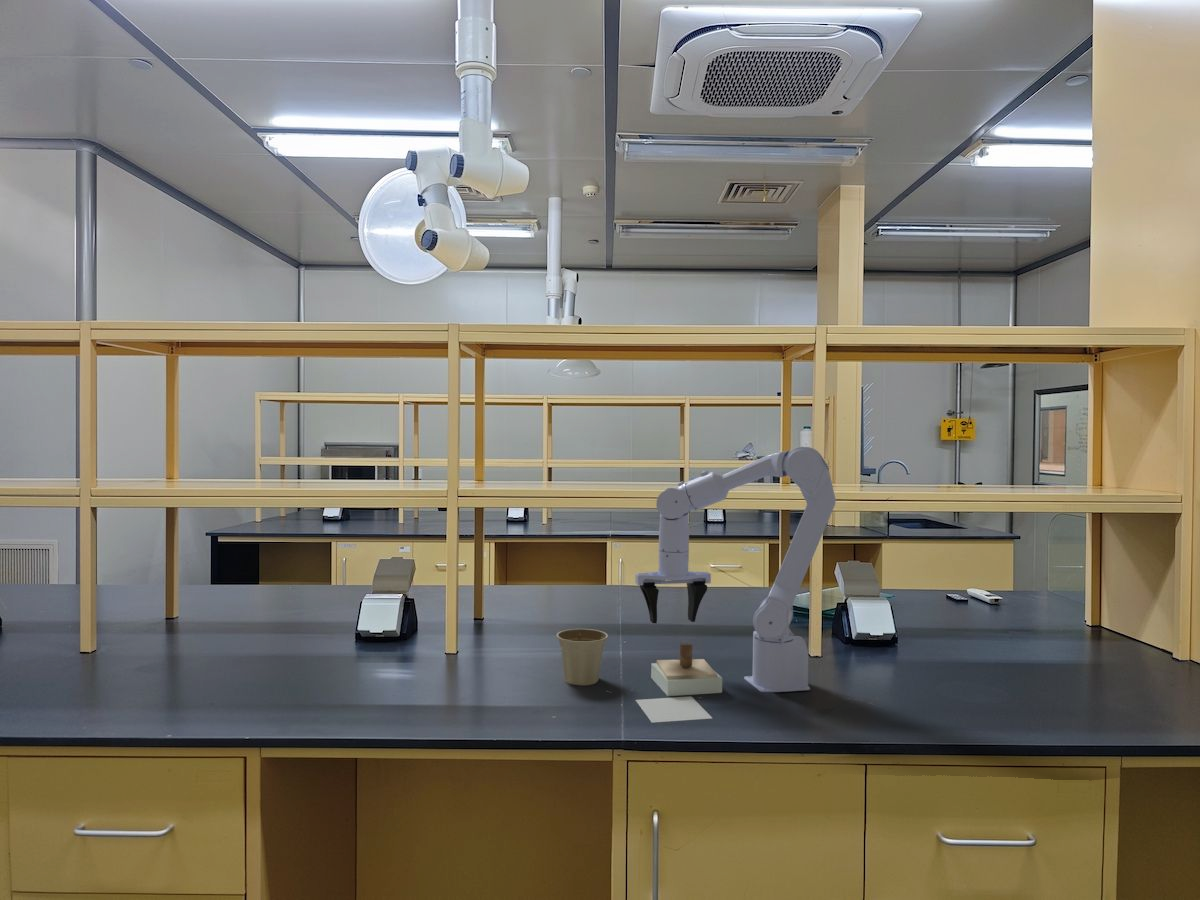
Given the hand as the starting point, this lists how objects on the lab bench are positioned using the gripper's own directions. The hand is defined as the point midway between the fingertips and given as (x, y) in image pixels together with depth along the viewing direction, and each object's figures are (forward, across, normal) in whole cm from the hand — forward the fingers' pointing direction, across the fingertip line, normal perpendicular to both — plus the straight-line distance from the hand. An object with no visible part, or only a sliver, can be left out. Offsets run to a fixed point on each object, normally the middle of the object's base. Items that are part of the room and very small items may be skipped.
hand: (672, 621), depth 136 cm
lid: (+7, 0, +8) cm, 11 cm away
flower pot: (+10, +18, +2) cm, 21 cm away
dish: (+10, 0, +8) cm, 13 cm away
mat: (+10, +6, +19) cm, 22 cm away
